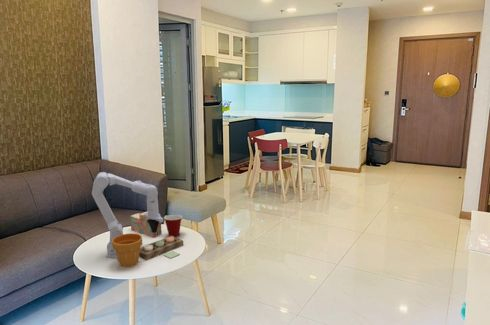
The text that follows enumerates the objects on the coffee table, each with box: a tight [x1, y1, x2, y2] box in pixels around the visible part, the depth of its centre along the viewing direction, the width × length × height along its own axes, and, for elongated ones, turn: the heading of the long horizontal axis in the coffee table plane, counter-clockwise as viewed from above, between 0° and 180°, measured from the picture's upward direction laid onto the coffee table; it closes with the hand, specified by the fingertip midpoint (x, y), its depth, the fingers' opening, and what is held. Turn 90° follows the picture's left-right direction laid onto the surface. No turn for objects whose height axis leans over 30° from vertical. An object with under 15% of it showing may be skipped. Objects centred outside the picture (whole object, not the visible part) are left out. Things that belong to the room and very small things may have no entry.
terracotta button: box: [165, 236, 174, 243], centre depth 205 cm, size 4×4×3 cm
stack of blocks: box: [129, 211, 162, 238], centre depth 224 cm, size 21×6×12 cm, turn 54°
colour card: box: [162, 250, 181, 259], centre depth 194 cm, size 6×6×1 cm
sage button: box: [154, 239, 164, 248], centre depth 200 cm, size 4×4×3 cm
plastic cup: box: [163, 214, 183, 238], centre depth 218 cm, size 11×11×12 cm
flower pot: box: [112, 232, 143, 268], centre depth 184 cm, size 14×14×13 cm
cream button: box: [143, 244, 153, 252], centre depth 194 cm, size 4×4×3 cm
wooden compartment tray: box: [139, 236, 184, 261], centre depth 200 cm, size 24×10×3 cm, turn 139°
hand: (154, 232), depth 200 cm, fingers closed
